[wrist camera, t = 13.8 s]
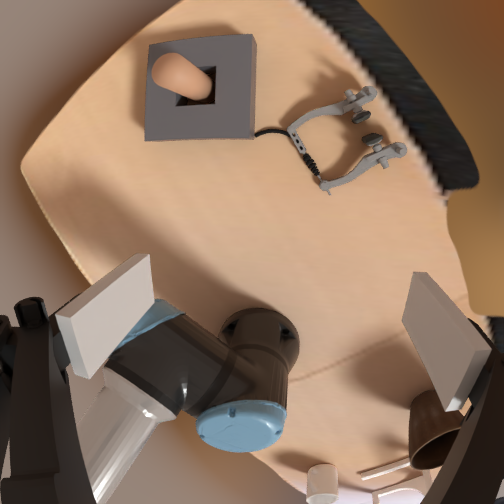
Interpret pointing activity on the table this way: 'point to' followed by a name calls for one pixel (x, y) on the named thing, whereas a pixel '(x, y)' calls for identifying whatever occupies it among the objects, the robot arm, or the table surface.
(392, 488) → the white piece
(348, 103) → the bike brake
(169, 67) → the peg
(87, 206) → the table surface
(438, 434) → the plant pot
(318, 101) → the table surface
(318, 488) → the mug
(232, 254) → the table surface
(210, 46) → the socket block
